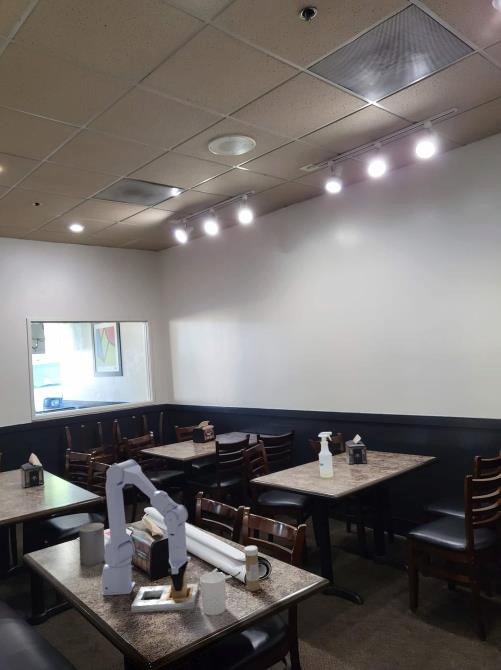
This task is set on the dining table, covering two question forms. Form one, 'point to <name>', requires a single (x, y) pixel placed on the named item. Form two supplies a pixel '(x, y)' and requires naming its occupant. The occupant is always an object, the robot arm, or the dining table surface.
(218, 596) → the white cup
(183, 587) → the peg
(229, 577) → the pliers
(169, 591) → the socket board
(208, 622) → the dining table surface
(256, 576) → the sprinkles bottle
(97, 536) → the pillar candle
